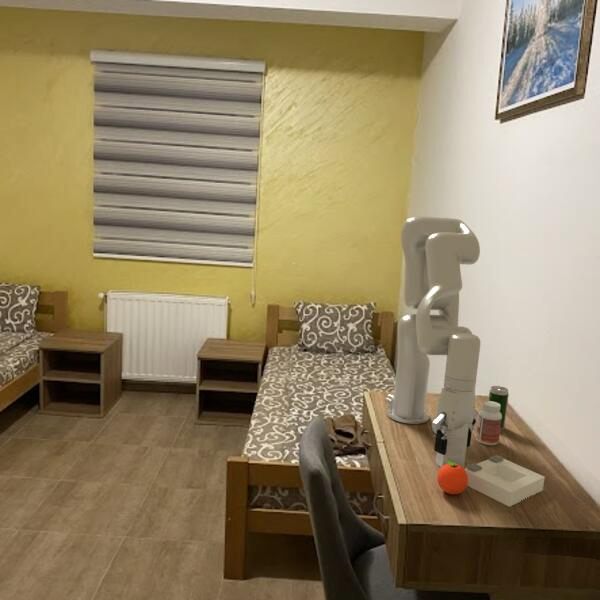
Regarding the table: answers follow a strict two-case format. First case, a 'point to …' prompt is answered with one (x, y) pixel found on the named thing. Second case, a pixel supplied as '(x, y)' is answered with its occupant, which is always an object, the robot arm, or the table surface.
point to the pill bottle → (489, 423)
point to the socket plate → (504, 480)
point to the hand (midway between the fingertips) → (452, 448)
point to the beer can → (500, 400)
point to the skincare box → (454, 447)
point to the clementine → (452, 478)
